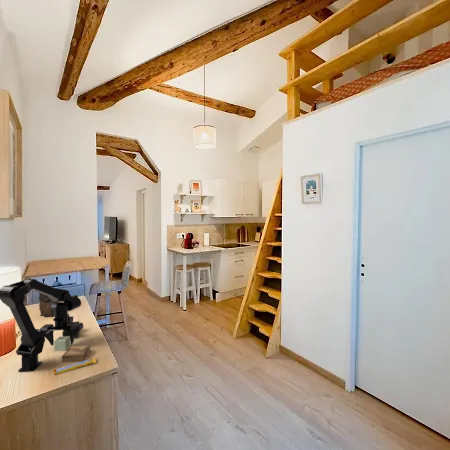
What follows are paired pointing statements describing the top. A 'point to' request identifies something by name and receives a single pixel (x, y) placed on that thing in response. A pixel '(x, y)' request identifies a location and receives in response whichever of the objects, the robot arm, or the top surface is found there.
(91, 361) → the candy bar
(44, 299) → the owl
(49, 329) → the robot arm
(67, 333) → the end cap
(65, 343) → the block
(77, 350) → the base
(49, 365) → the top surface
